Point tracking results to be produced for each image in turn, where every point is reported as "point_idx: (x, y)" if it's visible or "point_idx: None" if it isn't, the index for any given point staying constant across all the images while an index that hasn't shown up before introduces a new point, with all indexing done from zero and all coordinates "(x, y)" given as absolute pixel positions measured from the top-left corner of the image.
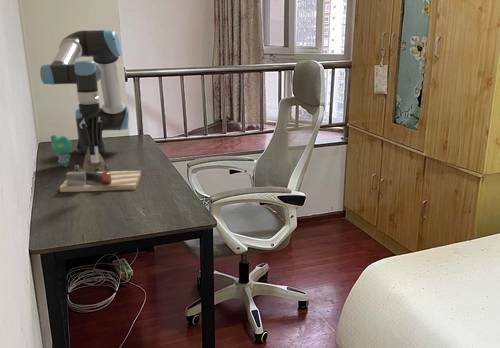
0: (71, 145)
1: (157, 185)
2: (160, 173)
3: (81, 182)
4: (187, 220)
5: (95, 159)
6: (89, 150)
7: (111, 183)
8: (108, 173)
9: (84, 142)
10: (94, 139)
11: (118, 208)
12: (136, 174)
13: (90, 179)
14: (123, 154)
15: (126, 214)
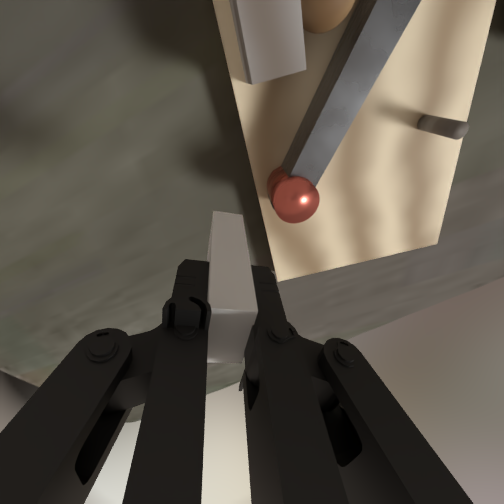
0: None
1: (313, 307)
2: (424, 281)
3: (243, 61)
4: None
5: (207, 261)
6: (174, 290)
7: None
8: (292, 218)
9: (36, 402)
10: (254, 431)
11: (111, 287)
12: (391, 246)
13: (323, 79)
14: None
15: (84, 318)
